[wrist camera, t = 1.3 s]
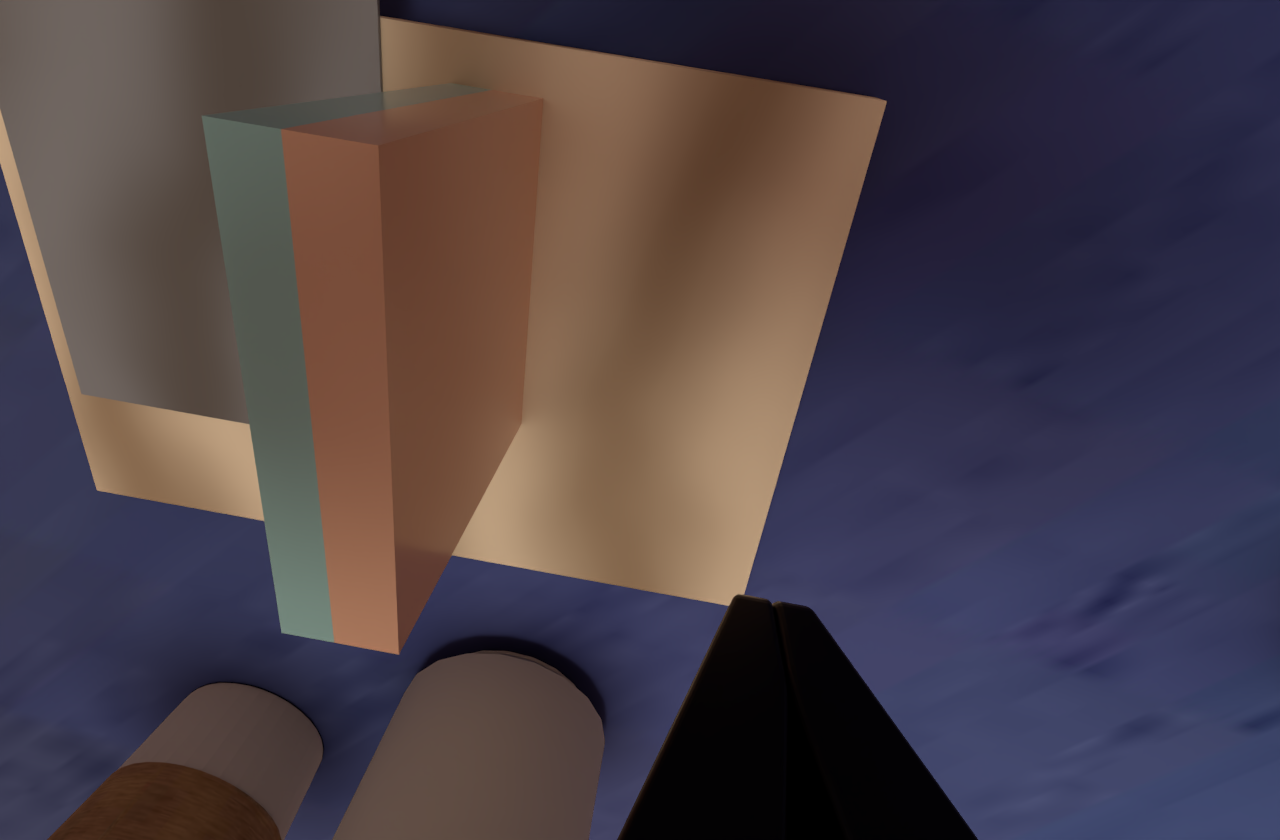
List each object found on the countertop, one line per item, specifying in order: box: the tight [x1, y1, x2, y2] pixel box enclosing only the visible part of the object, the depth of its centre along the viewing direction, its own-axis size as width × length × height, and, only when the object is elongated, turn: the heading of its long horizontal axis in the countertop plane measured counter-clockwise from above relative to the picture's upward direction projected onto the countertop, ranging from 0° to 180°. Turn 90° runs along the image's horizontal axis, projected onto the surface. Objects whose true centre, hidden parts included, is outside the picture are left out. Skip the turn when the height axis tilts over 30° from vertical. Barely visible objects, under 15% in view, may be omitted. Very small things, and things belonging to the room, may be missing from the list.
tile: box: [202, 83, 543, 655], centre depth 13 cm, size 2×8×8 cm, turn 172°
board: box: [0, 0, 887, 606], centre depth 18 cm, size 20×14×1 cm
